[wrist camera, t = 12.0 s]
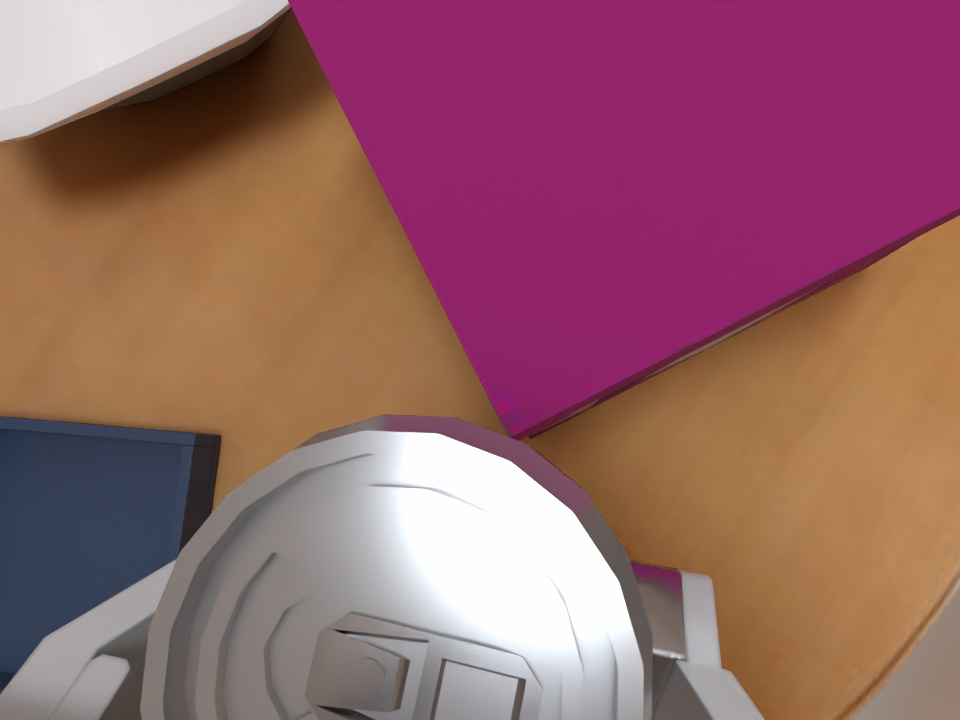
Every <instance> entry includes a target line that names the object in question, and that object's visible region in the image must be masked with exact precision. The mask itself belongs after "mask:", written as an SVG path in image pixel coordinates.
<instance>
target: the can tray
mask: <svg viewBox="0 0 960 720" xmlns="http://www.w3.org/2000/svg"><path fill="white" fill-rule="evenodd" d="M220 441H221V435H213V434H201V433H190V432H178V431H167V430H155V429H143V428H132V427H120V426H109V425H97V424H85V423H74V422H62V421H50V420H39V419H27V418H16V417H4V416H0V694H1V693H2V691H3V690H4V689H5V687H6V686H7V685H8V684H9V682H10V681H11V680H12V678H13V677H14V676H15V675H16V673H17V672H18V671H19V669H20V668H21V667H22V665H23V664H24V663H25V662H26V660H27V659H28V658H29V656H30V655H31V654H32V653H33V651H34V650H35V649H36V647H37V646H38V645H39V644H40V642H41V641H42V640H43V638H44V637H46V636H48V635H49V634H51V633H53V632H54V631H56V630H58V629H59V628H61V627H63V626H64V625H66V624H68V623H69V622H71V621H73V620H74V619H76V618H78V617H80V616H81V615H83V614H85V613H86V612H88V611H90V610H91V609H93V608H95V607H96V606H98V605H100V604H101V603H103V602H105V601H106V600H108V599H110V598H112V597H113V596H115V595H117V594H118V593H120V592H122V591H123V590H125V589H127V588H128V587H130V586H132V585H133V584H135V583H137V582H138V581H140V580H142V579H144V578H145V577H147V576H149V575H150V574H152V573H154V572H155V571H157V570H159V569H160V568H162V567H164V566H165V565H167V564H169V563H170V562H172V561H174V560H176V559H177V558H178V556H179V553H180V552H181V550H182V549H183V548H184V547H185V545H186V544H187V543H188V542H189V541H190V539H191V538H192V537H193V536H194V534H195V533H196V532H197V531H198V529H199V528H200V527H201V526H202V525H203V523H204V522H205V521H206V520H207V518H208V517H209V516H210V514H211V507H212V500H213V492H214V485H215V478H216V470H217V463H218V456H219V448H220Z"/></svg>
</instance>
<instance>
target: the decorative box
mask: <svg viewBox="0 0 960 720" xmlns="http://www.w3.org/2000/svg"><path fill="white" fill-rule="evenodd" d="M288 2H289V4H290V6H291V8H292V10H293V12H294V14H295V16H296V18H297V20H298V22H299V24H300V26H301V28H302V30H303V32H304V34H305V36H306V38H307V40H308V42H309V44H310V45H311V47H312V49H313V51H314V53H315V55H316V57H317V59H318V61H319V63H320V65H321V67H322V69H323V71H324V73H325V75H326V77H327V79H328V81H329V83H330V85H331V87H332V89H333V91H334V93H335V95H336V97H337V99H338V101H339V103H340V105H341V107H342V109H343V111H344V113H345V115H346V117H347V119H348V121H349V123H350V125H351V126H352V128H353V130H354V132H355V134H356V136H357V138H358V140H359V142H360V144H361V146H362V148H363V150H364V152H365V154H366V156H367V158H368V160H369V162H370V164H371V166H372V168H373V170H374V172H375V174H376V176H377V178H378V180H379V182H380V184H381V186H382V188H383V190H384V192H385V194H386V196H387V198H388V200H389V202H390V204H391V206H392V207H393V209H394V211H395V213H396V215H397V217H398V219H399V221H400V223H401V225H402V227H403V229H404V231H405V233H406V235H407V237H408V239H409V241H410V243H411V245H412V247H413V249H414V251H415V253H416V255H417V257H418V259H419V261H420V263H421V265H422V267H423V269H424V271H425V273H426V275H427V277H428V279H429V281H430V283H431V285H432V287H433V288H434V290H435V292H436V294H437V296H438V298H439V300H440V302H441V304H442V306H443V308H444V310H445V312H446V314H447V316H448V318H449V320H450V322H451V324H452V326H453V328H454V330H455V332H456V334H457V336H458V338H459V340H460V342H461V344H462V346H463V348H464V350H465V352H466V354H467V356H468V358H469V360H470V362H471V364H472V366H473V368H474V369H475V371H476V373H477V375H478V377H479V379H480V381H481V383H482V385H483V387H484V389H485V391H486V393H487V395H488V397H489V399H490V401H491V403H492V405H493V407H494V409H495V411H496V413H497V415H498V417H499V419H500V421H501V423H502V425H503V427H504V429H505V431H506V433H507V435H508V437H510V438H512V439H515V440H518V441H519V440H521V439H523V438H525V437H529V438H530V439H532V438H534V437H536V436H538V435H540V434H541V433H543V432H545V431H547V430H549V429H551V428H553V427H555V426H557V425H559V424H561V423H563V422H565V421H567V420H569V419H571V418H573V417H575V416H577V415H579V414H581V413H583V412H585V411H587V410H589V409H590V408H592V407H594V406H596V405H598V404H600V403H602V402H604V401H606V400H608V399H610V398H612V397H614V396H616V395H618V394H620V393H622V392H624V391H626V390H628V389H630V388H632V387H634V386H636V385H637V384H639V383H641V382H643V381H645V380H647V379H649V378H651V377H653V376H655V375H657V374H659V373H661V372H663V371H665V370H667V369H669V368H671V367H673V366H675V365H677V364H679V363H681V362H683V361H684V360H686V359H688V358H690V357H692V356H694V355H696V354H698V353H700V352H702V351H704V350H706V349H708V348H710V347H712V346H714V345H716V344H718V343H720V342H722V341H724V340H726V339H728V338H730V337H731V336H733V335H735V334H737V333H739V332H741V331H743V330H745V329H747V328H749V327H751V326H753V325H755V324H757V323H759V322H761V321H763V320H765V319H767V318H769V317H771V316H773V315H775V314H777V313H778V312H780V311H782V310H784V309H786V308H788V307H790V306H792V305H794V304H796V303H798V302H800V301H802V300H804V299H806V298H808V297H810V296H812V295H814V294H816V293H818V292H820V291H822V290H824V289H826V288H827V287H829V286H831V285H833V284H835V283H837V282H839V281H841V280H843V279H845V278H847V277H849V276H851V275H853V274H855V273H857V272H859V271H861V270H863V269H865V268H867V267H869V266H870V265H872V264H874V263H875V262H877V261H879V260H880V259H882V258H884V257H885V256H887V255H889V254H890V253H892V252H894V251H895V250H897V249H899V248H900V247H902V246H904V245H905V244H907V243H909V242H910V241H912V240H914V239H915V238H917V237H918V236H920V235H922V234H924V233H926V232H928V231H930V230H932V229H934V228H936V227H938V226H940V225H942V224H944V223H946V222H947V221H949V220H951V219H953V218H955V217H957V216H959V215H960V0H288Z"/></svg>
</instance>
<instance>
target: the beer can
mask: <svg viewBox="0 0 960 720" xmlns="http://www.w3.org/2000/svg"><path fill="white" fill-rule="evenodd" d="M652 655H653V635H652V632H651V628H650V625H649V622H648V618H647V615H646V612H645V608H644V605H643V602H642V598H641V595H640V592H639V588H638V585H637V582H636V578H635V575H634V571H633V568H632V565H631V561H630V558H629V556H628V555H627V553H626V552H625V550H624V549H623V547H622V546H621V544H620V543H619V541H618V540H617V538H616V537H615V535H614V534H613V532H612V531H611V529H610V528H609V526H608V525H607V523H606V522H605V520H604V519H603V517H602V516H601V514H600V513H599V511H598V510H597V508H596V507H595V505H594V504H593V502H592V501H591V499H590V498H589V496H588V495H587V493H586V492H585V491H584V490H583V489H582V488H581V487H580V486H578V485H577V484H576V483H575V482H574V481H573V480H572V479H570V478H569V477H568V476H567V475H566V474H564V473H563V472H562V471H561V470H559V469H558V468H557V467H556V466H554V465H553V464H552V463H551V462H549V461H548V460H547V459H546V458H544V457H543V456H542V455H541V454H539V453H538V452H537V451H535V450H534V449H532V448H531V447H530V446H528V445H527V444H525V443H523V442H520V441H518V440H515V439H512V438H510V437H507V436H504V435H502V434H499V433H496V432H494V431H491V430H488V429H486V428H483V427H481V426H478V425H475V424H473V423H470V422H467V421H465V420H462V419H459V418H457V417H434V416H410V415H387V414H385V415H381V416H378V417H374V418H371V419H367V420H364V421H360V422H357V423H353V424H350V425H346V426H343V427H339V428H335V429H332V430H328V431H325V432H321V433H318V434H316V435H314V436H313V437H311V438H310V439H308V440H307V441H305V442H304V443H302V444H301V445H299V446H298V447H296V448H295V449H293V450H292V451H290V452H288V453H287V454H285V455H284V456H282V457H281V458H279V459H278V460H276V461H275V462H273V463H272V464H270V465H269V466H267V467H266V468H264V469H263V470H261V471H260V472H258V473H257V474H255V475H254V476H252V477H251V478H249V479H248V480H246V481H245V482H243V483H242V484H240V485H239V486H237V487H236V488H234V489H233V490H231V491H230V492H229V493H228V494H227V495H226V496H225V498H224V499H223V500H222V501H221V502H220V504H219V505H218V506H217V507H216V509H215V510H214V511H213V512H212V514H211V515H210V516H209V517H208V518H207V520H206V521H205V522H204V523H203V525H202V526H201V527H200V528H199V529H198V531H197V532H196V533H195V534H194V536H193V537H192V538H191V539H190V541H189V542H188V543H187V544H186V545H185V547H184V548H183V549H182V550H181V552H180V553H179V556H178V558H177V561H176V563H175V565H174V568H173V570H172V573H171V575H170V577H169V580H168V582H167V585H166V587H165V589H164V592H163V594H162V597H161V599H160V601H159V604H158V606H157V609H156V611H155V613H154V616H153V618H152V621H151V623H150V626H149V633H148V642H147V651H146V660H145V668H144V677H143V686H142V695H141V703H140V710H141V716H142V720H652Z"/></svg>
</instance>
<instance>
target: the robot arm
mask: <svg viewBox="0 0 960 720" xmlns="http://www.w3.org/2000/svg"><path fill="white" fill-rule="evenodd" d="M176 561H177V559H176V560H174V561H172V562H170V563H169V564H167V565H165V566H164V567H162V568H160V569H159V570H157V571H155V572H154V573H152V574H150V575H149V576H147V577H145V578H144V579H142V580H140V581H138V582H137V583H135V584H133V585H132V586H130V587H128V588H127V589H125V590H123V591H122V592H120V593H118V594H117V595H115V596H113V597H112V598H110V599H108V600H106V601H105V602H103V603H101V604H100V605H98V606H96V607H95V608H93V609H91V610H90V611H88V612H86V613H85V614H83V615H81V616H80V617H78V618H76V619H74V620H73V621H71V622H69V623H68V624H66V625H64V626H63V627H61V628H59V629H58V630H56V631H54V632H53V633H51V634H49V635H48V636H46V637H44V638H43V640H42V641H41V642H40V644H39V645H38V646H37V647H36V649H35V650H34V651H33V653H32V654H31V655H30V656H29V658H28V659H27V660H26V662H25V663H24V664H23V665H22V667H21V668H20V669H19V671H18V672H17V673H16V675H15V676H14V677H13V678H12V680H11V681H10V682H9V684H8V685H7V686H6V687H5V689H4V690H3V691H2V693H1V694H0V720H142V716H141V710H140V703H141V695H142V686H143V677H144V668H145V660H146V651H147V642H148V633H149V626H150V623H151V621H152V618H153V616H154V613H155V611H156V609H157V606H158V604H159V601H160V599H161V597H162V594H163V592H164V589H165V587H166V585H167V582H168V580H169V577H170V575H171V573H172V570H173V568H174V565H175V563H176ZM631 565H632V568H633V571H634V575H635V578H636V582H637V585H638V588H639V592H640V595H641V598H642V602H643V605H644V608H645V612H646V615H647V618H648V622H649V625H650V628H651V632H652V635H653V655H652V720H765V719H764V717H763V716H762V714H761V713H760V712H759V710H758V709H757V707H756V706H755V704H754V703H753V702H752V700H751V699H750V697H749V696H748V694H747V693H746V692H745V690H744V689H743V687H742V686H741V684H740V683H739V681H738V680H737V679H736V677H735V676H734V674H733V673H732V671H729V670H725V669H722V665H721V655H720V645H719V636H718V626H717V616H716V607H715V597H714V587H713V581H712V579H711V577H710V576H709V575H704V574H699V573H693V572H687V571H682V570H678V569H676V568H670V567H664V566H658V565H653V564H647V563H641V562H636V561H631Z"/></svg>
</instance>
